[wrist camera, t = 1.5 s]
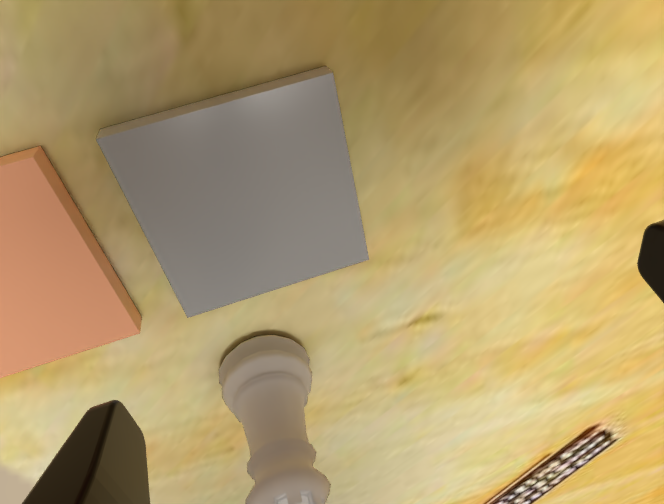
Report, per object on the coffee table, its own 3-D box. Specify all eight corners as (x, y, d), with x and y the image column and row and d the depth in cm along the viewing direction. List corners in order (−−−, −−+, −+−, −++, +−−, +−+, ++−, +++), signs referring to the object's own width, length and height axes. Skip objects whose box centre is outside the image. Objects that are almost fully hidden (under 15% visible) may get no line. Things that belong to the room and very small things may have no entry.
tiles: (362, 247, 22) (368, 259, 21) (-50, 378, 20) (-59, 397, 19) (326, 65, 17) (333, 72, 16) (-213, 216, 15) (-235, 232, 15)
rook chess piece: (317, 331, 24) (368, 480, 17) (295, 395, 26) (333, 550, 19) (226, 326, 22) (244, 487, 16) (210, 395, 24) (220, 562, 18)
